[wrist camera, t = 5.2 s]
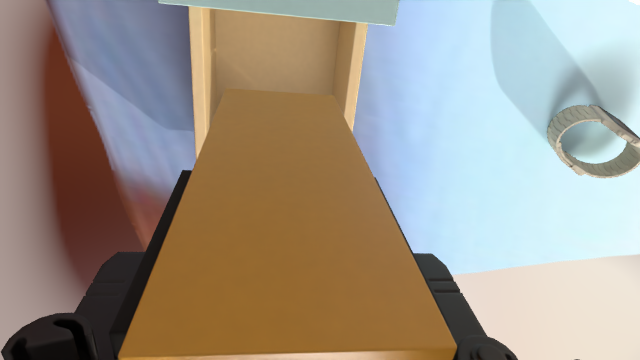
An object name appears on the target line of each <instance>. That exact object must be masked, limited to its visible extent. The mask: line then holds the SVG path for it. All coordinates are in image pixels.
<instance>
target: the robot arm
mask: <svg viewBox="0 0 640 360" xmlns="http://www.w3.org/2000/svg"><path fill="white" fill-rule="evenodd" d="M191 173H192V171H191V170H182V172H181V175H180V177H179V179H178V181H177V184H176V186H175V188H174V190H173V192H172V195H171V197H170V199H169V201H168V203H167V206H166V208H165V210H164V212H163V214H162V217H161V219H160V221H159V223H158V225H157V228H156V230H155V232H154V234H153V237H152V239H151V241H150V243H149V245H148V248H147V250H146V252H117V253H116V254H115V255H114V256H112V257H111V258H110V259H109V260H108V261H106V262H105V263H104V264H103V265H102V266H101V268H100V269H99V271H98V273H97V275H96V276H95V278H94V280H93V283H91V285H90V287H89V288H88V290H87V292H86V296H84V297H83V299H82V301H81V302H80V304H79V306H78V307H77V309H76V311H75V312H74V313H57V314H53V315H49V316H46V317H42V318H39V319H37V320H35V321H33V322H31V323H30V324H28V325H26V326H24V327H22V328H21V329H20V330H19V331H18V332H16V333H15V334H14V335H13V336H12V337H11V338H9V340H8V341H7V343H6V344H5V346H4V348H3V349H2V351H1V353H2V356H3V358H4V360H119V359H118V354H119V352H120V349H121V347H122V344H123V342H124V339H125V337H126V334H127V332H128V329H129V327H130V324H131V322H132V319H133V317H134V314H135V312H136V309H137V307H138V304H139V302H140V300H141V297H142V295H143V292H144V290H145V287H146V285H147V282H148V280H149V277H150V275H151V272H152V270H153V267H154V265H155V262H156V260H157V257H158V255H159V252H160V250H161V247H162V245H163V242H164V240H165V237H166V235H167V232H168V230H169V228H170V225H171V223H172V220H173V218H174V215H175V213H176V210H177V208H178V205H179V203H180V200H181V198H182V195H183V193H184V190H185V188H186V185H187V183H188V180H189V178H190V175H191ZM374 178H375V177H374ZM375 180H376V178H375ZM376 182H377V180H376ZM377 184H378V182H377ZM378 186H379V184H378ZM379 188H380V186H379ZM380 191H381V193H382V195H383V197H384V199H385V201H386V203H387V205H388V207H389V209H390V211H391V213H392V215H393V217H394V219H395V221H396V223H397V225H398V227H399V229H400V231H401V233H402V235H403V237H404V239H405V241H406V243H407V245H408V247H409V249H410V251H411V254H412V256H413V258H414V260H415V262H416V264H417V266H418V268H419V270H420V272H421V274H422V276H423V278H424V280H425V282H426V284H427V286H428V288H429V290H430V292H431V294H432V296H433V298H434V300H435V302H436V304H437V306H438V308H439V310H440V312H441V314H442V317H443V319H444V321H445V323H446V325H447V327H448V329H449V331H450V333H451V335H452V337H453V339H454V341H455V343H456V345H457V350H456V353H455V355H454V358H453V360H518V359H517V358H516V356H515V354H514V353H513V352H512V351H510V350H509V349H508V348H507V347H506V346H505V345H503V344H502V343H500V342H499V341H497V340H495V339H493V338H490V337H488V336H487V335H486V333H485V332H484V330H483V328H482V326H481V325H480V323H479V322H478V320H477V318H476V316H475V315H474V313H473V311H472V309H471V308H470V306H469V304H468V303H467V301H466V299H465V298H464V296H463V294H462V293H460V289H459V288H458V286H457V284H456V282H454V281H453V277H452V275H451V274H450V272H449V270H448V269H447V267H446V265H445V264H443V263H442V262H441V261H440V260H439V259H438V258H437V257H435V256H434V255H433V254H419V253H413V252H412V250H411V248H410V246H409V244H408V242H407V240H406V238H405V236H404V234H403V232H402V230H401V228H400V226H399V224H398V222H397V220H396V218H395V216H394V214H393V212H392V210H391V208H390V206H389V204H388V202H387V200H386V198H385V196H384V194H383V192H382V190H381V188H380ZM576 360H578V359H576Z"/></svg>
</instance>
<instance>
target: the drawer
mask: <svg viewBox="0 0 640 360" xmlns="http://www.w3.org/2000/svg"><path fill="white" fill-rule="evenodd" d="M188 11H189V31H190V51H191V71H192V91H193V111H194V131H195V152H196V160H197V158H198V156H199V153H200V151H201V148H202V146H203V143H204V141H205V138H206V136H207V133H208V131H209V128H210V126H211V123H212V121H213V118H214V116H215V113H216V111H217V108H218V106H219V103H220V101H221V98H222V96H223V93H224V91H225V89H226V88H230V89H245V90H260V91H275V92H290V93H305V94H320V95H333V96H334V97H335V99H336V101H337V103H338V105H339V107H340V109H341V111H342V113H343V115H344V117H345V119H346V121H347V123H348V125H349V127H350V130H351V132H352V130H353V123H354V116H355V109H356V102H357V96H358V89H359V82H360V75H361V68H362V61H363V54H364V47H365V40H366V34H367V27H368V24H367V23H357V22H347V21H337V20H326V19H316V18H306V17H296V16H286V15H275V14H265V13H255V12H245V11H235V10H224V9H214V8H204V7H194V6H188Z"/></svg>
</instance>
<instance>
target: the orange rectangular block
mask: <svg viewBox="0 0 640 360" xmlns="http://www.w3.org/2000/svg"><path fill="white" fill-rule="evenodd" d="M456 350H457V345H456V343H455V341H454V339H453V337H452V335H451V333H450V331H449V329H448V327H447V325H446V323H445V321H444V319H443V317H442V314H441V312H440V310H439V308H438V306H437V304H436V302H435V300H434V298H433V296H432V294H431V292H430V290H429V288H428V286H427V284H426V282H425V280H424V278H423V276H422V274H421V272H420V270H419V268H418V266H417V264H416V262H415V260H414V258H413V256H412V254H411V251H410V249H409V247H408V245H407V243H406V241H405V239H404V237H403V235H402V233H401V231H400V229H399V227H398V225H397V223H396V221H395V219H394V217H393V215H392V213H391V211H390V209H389V207H388V205H387V203H386V201H385V199H384V197H383V195H382V193H381V191H380V188H379V186H378V184H377V182H376V180H375V178H374V176H373V174H372V172H371V170H370V168H369V166H368V164H367V162H366V160H365V158H364V156H363V154H362V152H361V150H360V148H359V146H358V144H357V142H356V140H355V138H354V136H353V134H352V132H351V130H350V127H349V125H348V123H347V121H346V119H345V117H344V115H343V113H342V111H341V109H340V107H339V105H338V103H337V101H336V99H335V97H334V96H333V95H320V94H305V93H290V92H275V91H260V90H245V89H230V88H226V89H225V91H224V93H223V96H222V98H221V101H220V103H219V106H218V108H217V111H216V113H215V116H214V118H213V121H212V123H211V126H210V128H209V131H208V133H207V136H206V138H205V141H204V143H203V146H202V148H201V151H200V153H199V156H198V158H197V160H196V163H195V165H194V168H193V170H192V173H191V175H190V178H189V180H188V183H187V185H186V188H185V190H184V193H183V195H182V198H181V200H180V203H179V205H178V208H177V210H176V213H175V215H174V218H173V220H172V223H171V225H170V228H169V230H168V232H167V235H166V237H165V240H164V242H163V245H162V247H161V250H160V252H159V255H158V257H157V260H156V262H155V265H154V267H153V270H152V272H151V275H150V277H149V280H148V282H147V285H146V287H145V290H144V292H143V295H142V297H141V300H140V302H139V304H138V307H137V309H136V312H135V314H134V317H133V319H132V322H131V324H130V327H129V329H128V332H127V334H126V337H125V339H124V342H123V344H122V347H121V349H120V352H119V354H118V359H119V360H453V358H454V355H455V353H456Z"/></svg>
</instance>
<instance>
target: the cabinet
mask: <svg viewBox="0 0 640 360" xmlns="http://www.w3.org/2000/svg"><path fill="white" fill-rule="evenodd" d="M158 3H163V4H173V5H184V6H194V7H204V8H214V9H224V10H235V11H245V12H255V13H265V14H275V15H286V16H296V17H306V18H316V19H326V20H337V21H347V22H357V23H367V24H377V25H388V26H395V23H396V17H397V11H398V5H399V0H158Z"/></svg>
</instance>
